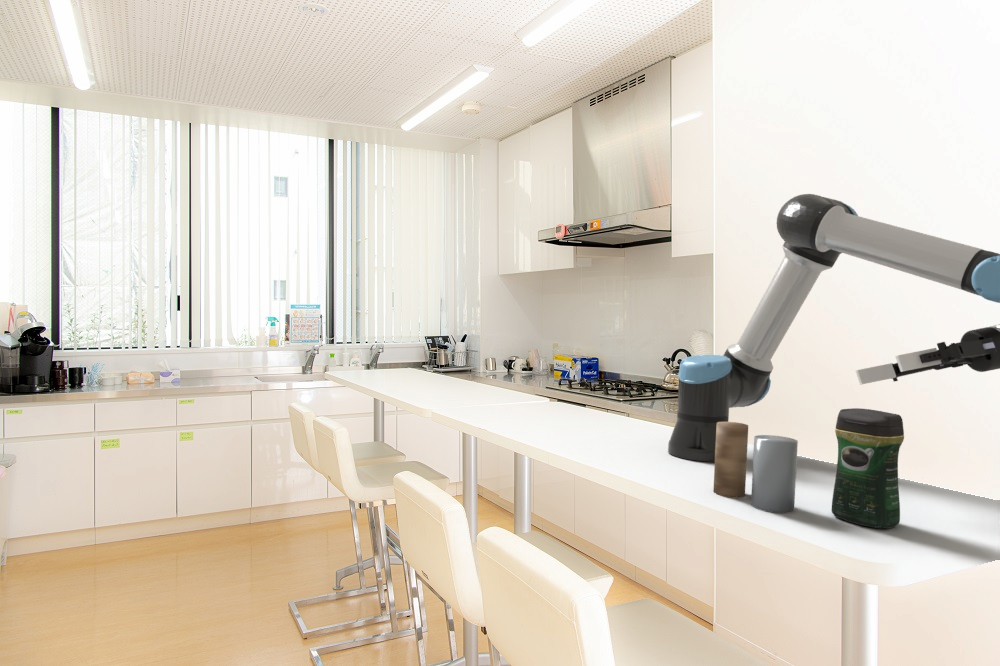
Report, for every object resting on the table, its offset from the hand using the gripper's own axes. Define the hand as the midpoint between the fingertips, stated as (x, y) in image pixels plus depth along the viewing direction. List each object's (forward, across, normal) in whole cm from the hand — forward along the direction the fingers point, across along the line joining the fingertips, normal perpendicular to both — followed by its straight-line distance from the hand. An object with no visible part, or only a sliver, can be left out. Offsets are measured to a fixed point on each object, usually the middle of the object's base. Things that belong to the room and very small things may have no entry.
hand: (877, 370), depth 115 cm
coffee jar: (+11, -1, -24) cm, 26 cm away
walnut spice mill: (+28, +12, -16) cm, 34 cm away
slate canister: (+23, +4, -19) cm, 30 cm away
